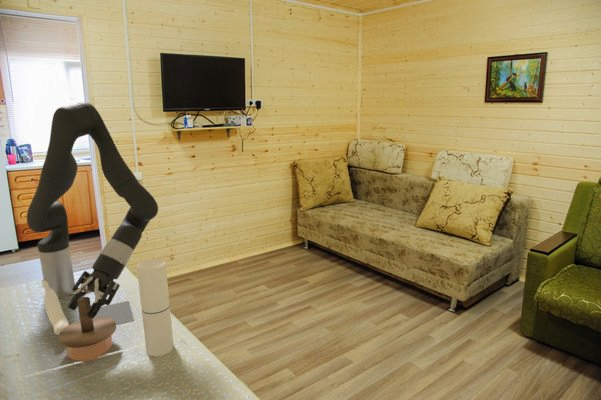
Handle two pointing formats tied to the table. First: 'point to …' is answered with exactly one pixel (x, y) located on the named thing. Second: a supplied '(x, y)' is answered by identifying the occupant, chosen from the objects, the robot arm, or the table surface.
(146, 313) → the cylindrical container
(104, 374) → the table surface
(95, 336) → the walnut lid
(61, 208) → the robot arm
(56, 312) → the banana
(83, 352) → the terracotta bowl
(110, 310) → the rubber mat
